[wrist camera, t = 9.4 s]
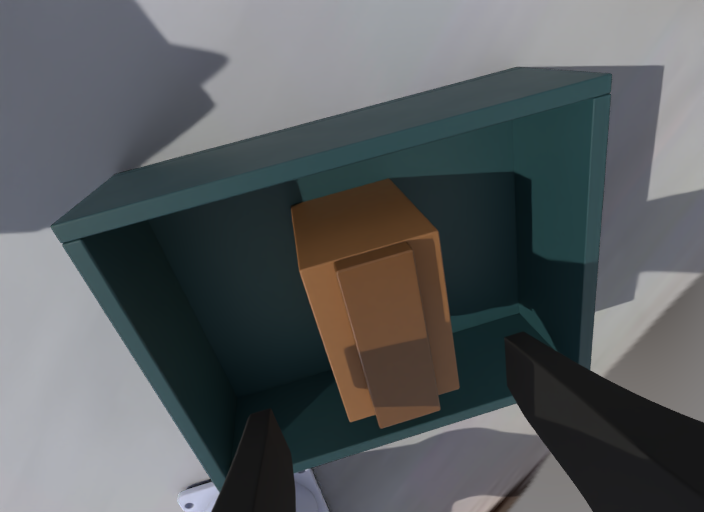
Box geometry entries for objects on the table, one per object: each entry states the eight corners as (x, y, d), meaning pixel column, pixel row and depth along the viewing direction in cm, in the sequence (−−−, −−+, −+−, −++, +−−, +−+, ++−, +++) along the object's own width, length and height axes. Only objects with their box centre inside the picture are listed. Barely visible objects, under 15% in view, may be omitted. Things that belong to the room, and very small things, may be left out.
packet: (389, 177, 18) (448, 239, 12) (413, 305, 21) (468, 402, 15) (289, 205, 18) (299, 282, 12) (329, 330, 21) (352, 438, 15)
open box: (524, 313, 24) (589, 381, 19) (231, 401, 23) (221, 497, 18) (517, 66, 17) (613, 73, 13) (113, 174, 16) (48, 226, 12)
